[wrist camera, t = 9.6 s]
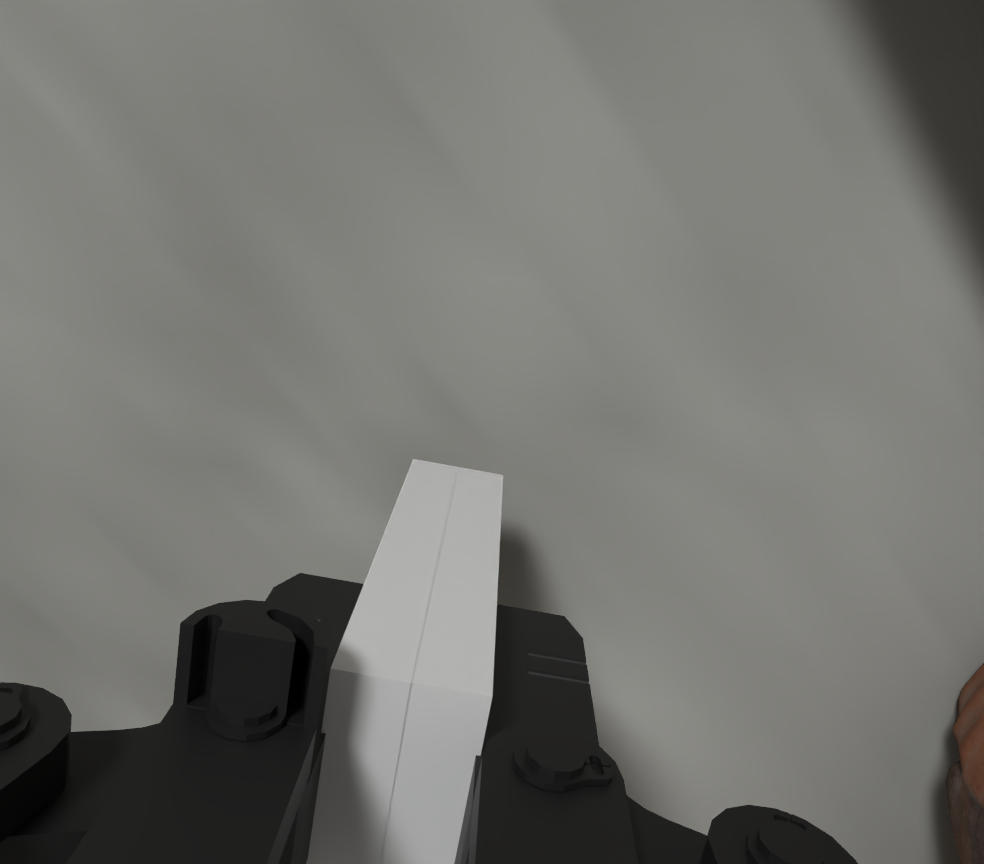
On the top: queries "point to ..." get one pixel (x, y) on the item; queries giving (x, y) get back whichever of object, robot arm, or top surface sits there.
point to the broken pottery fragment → (969, 774)
